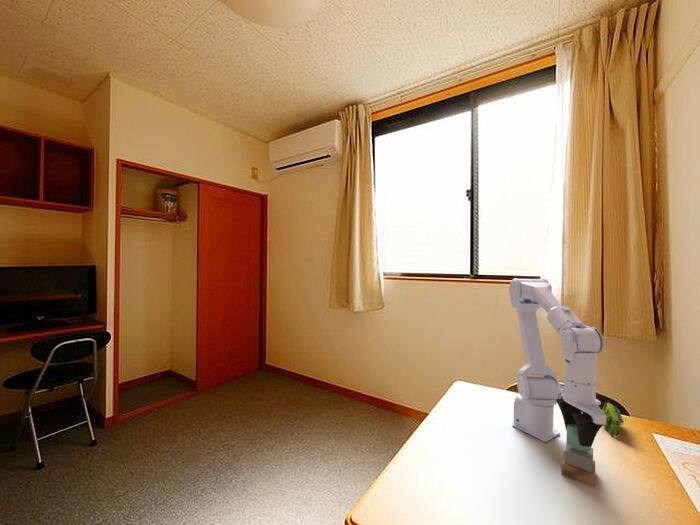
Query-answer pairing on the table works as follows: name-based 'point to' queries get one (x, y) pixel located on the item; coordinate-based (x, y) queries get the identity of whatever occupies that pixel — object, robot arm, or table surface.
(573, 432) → the green cylinder
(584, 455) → the gray block
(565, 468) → the walnut block
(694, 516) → the table surface
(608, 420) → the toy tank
